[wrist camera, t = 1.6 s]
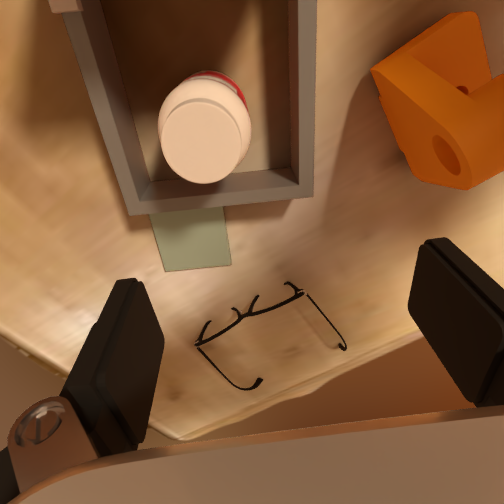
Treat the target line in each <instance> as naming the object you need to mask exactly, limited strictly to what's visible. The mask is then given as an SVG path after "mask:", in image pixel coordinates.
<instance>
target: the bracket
mask: <svg viewBox="0 0 504 504" xmlns="http://www.w3.org/2000/svg"><path fill="white" fill-rule="evenodd" d="M370 71H371V73H372V76H373V78H374V81H375V83H376V86H377V88H378V90H379V93H380V96H378V97H379V100H380V102H381V105H382V107H383V110H384V112H385V114H386V117H387V119H388V122H389V124H390V127H391V129H392V131H393V134H394V136H395V139H396V141H397V144H398V146H399V148H400V150H401V151H403V152H404V154H405V157H406V159H407V162H408V164H409V166H410V169H411V171H412V174H413V175H414V176H416V177H417V178H418V179H420V180H421V181H423V182H428V183H432V184H437V185H442V186H447V187H451V188H456V189H461V190H469V189H471V188H472V187H474V186H476V185H478V184H480V183H482V182H484V181H485V180H487V179H489V178H491V177H493V176H495V175H496V174H498V173H500V172H502V171H504V74H501V75H499V76H497V77H496V78H494V79H492V77H491V73H490V68H489V64H488V59H487V54H486V50H485V45H484V41H483V36H482V32H481V27H480V22H479V18H478V16H477V14H476V13H474V12H472V11H466V12H456V13H450V14H448V15H446V16H445V17H444V18H442V19H441V20H439V21H438V22H436V23H435V24H434V25H432V26H431V27H429V28H428V29H426V30H425V31H423V32H422V33H421V34H419V35H418V36H416V37H415V38H413V39H412V40H411V41H409V42H408V43H406V44H405V45H403V46H402V47H401V48H399V49H398V50H396V51H395V52H393V53H392V54H391V55H389V56H388V57H386V58H385V59H383V60H382V61H381V62H379V63H378V64H376V65H375V66H373V67H372V68H371V69H370Z"/></svg>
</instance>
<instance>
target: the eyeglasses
mask: <svg viewBox="0 0 504 504" xmlns="http://www.w3.org/2000/svg"><path fill="white" fill-rule="evenodd" d="M286 284H288V285H290V286H291V287H292V288H293V289H294V291H295V295H294V296H293V297H291V298H289V299H287V300H285V301H283V302H281V303H279V304H277V305H274V306H272V307H269V308H267V309H264V310H260V311H257V312H252V310H253V308H254V304H255V302H256V301H257V299H258V297H259V295H257V296H256V297H255V298H254V300H253V301H252V303H251V305H250V308H249V310H248V312H247V313H245V314H242V311H241V310H239V311H238V310H237V309H236V308H234V307H233V308H231V309H232V310H235V311H236V312H237V314H238V319H237V320H236V321H235V322H234V323H232V324H231V325H230V326H228V327H227V328H225V329H223V330H222V331H220V332H219V333H217V334H215V335H213V336H211V337H209V338H207V339H205V340H202V338H203V334H204V332H205V330H206V328H207V326H208V324H209V323H210V322H211V320H210V321H208V322H207V323H206V324H205V326H204V328H203V330H202V332H201V334H200V336H199V338H198V339H197V340H196V341H195V343H194V345H195V347H196V348H197V349H198V350H199V351H200V352H201V353H202V355H203V356H204V357H205V358H206V359H207V360H208V361H209V362H210V363H211V364H212V365H213V366H214V367H215V368H216V369H217V370H218V371H219V372H220V373H221V374H222V375H223V377H224V378H225V379H227V380H228V381H229V382H230V383H231V384H232V385H233V386H234V387H236V388H238V389H240V390H252V389H255V388H257V387H258V386H259V385H260V384H261V382H262V381H263V379H261V378H258V379H257V380H256V382H255V383H254V385H253V386H252V387H250V388H240V387H237V386H236V385H234V384H233V383H232V382H231V381H230V380H229V379H228V378H227V377H226V376H225V375H224V374H223V373H222V372H221V371H220V370H219V369H218V368H217V366H216V365H215V364H214V363H213V362H212V361H211V360H210V359H209V358H208V356H207V355H206V354H205V353H204V352H203V351H202V350H201V349H200V348H199V346H200V345H202V344H205V343H207V342H209V341H211V340H213V339H215V338H216V337H218V336H220V335H221V334H223V333H225V332H226V331H228V330H229V329H231V328H232V327H234V326H235V325H237V324H238V323H239V322H240V321H241V320H242V319H243V318H245V317H248V316H255V315H259V314H262V313H265V312H268V311H271V310H273V309H276V308H278V307H281V306H283V305H285V304H287V303H289V302H291V301H293V300H295V299H297V298H299V297H301V296H303V295H304V292H305V295H307V297H308V298H309V299H310V300H311V301H312V303H313V304H314V305H315V306H316V307H317V309H318V310H319V311H320V312H321V314H322V315H323V316H324V317H325V318H326V320H327V321H328V322H329V323H330V325H331V326H332V327H333V328H334V329H335V331H336V332H337V333H338V335H339V336H340V337H341V339H342V340H343V342H344V344H345V347H343V346H342V344H341V343H339V348H340V349H341V350H343V351H345V350H346V349H347V345H346V343H345V341H344V339H343V337H342V336H341V335H340V333H339V332H338V331H337V330H336V328H335V327H334V326H333V324H332V323H331V322H330V321H329V320H328V318H327V317H326V316H325V315H324V313H323V312H322V311H321V310H320V308H319V307H318V306H317V305H316V303H315V302H314V301H313V300H312V298H311V297H310V296H309V295H308V293H307V292H306V291H305V290H303V289H298V288H297V287H296V286H295V285H293V284H292V283H290V282H285V283H284V285H286ZM241 314H242V315H241Z"/></svg>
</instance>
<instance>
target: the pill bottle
mask: <svg viewBox="0 0 504 504" xmlns="http://www.w3.org/2000/svg"><path fill="white" fill-rule="evenodd" d="M158 135H159V139H160V143H161V148H162V151H163V155H164V157H165V159H166V161H167V163H168V164H169V166H170V167H171V168H172V169H173V170H174V171H175V172H176V173H177V174H178V175H179V176H181V177H182V178H184V179H186V180H188V181H191V182H194V183H201V184H206V183H213V182H217V181H219V180H221V179H223V178H225V177H226V176H227V175H229V174H230V173H231V172H232V171H233V169H234V168H235V167H236V166H238V165H239V163H240V162H241V161H242V160H243V158H244V157H245V155H246V153H247V150H248V148H249V145H250V140H251V122H250V116H249V113H248V109H247V105H246V101H245V98H244V95H243V93H242V91H241V89H240V88H239V86H238V85H237V84H236V83H235V82H234V81H233V80H232V79H231V78H230V77H228V76H227V75H225V74H223V73H220V72H217V71H212V70H205V71H200V72H197V73H194V74H192V75H190V76H189V77H187V78H186V79H185V80H184V81H183V82H182V83H181V84H179V85H178V86H177V87H176V88H175V89H173V90H172V91H171V92H170V94H169V95H168V96H167V98H166V99H165V101H164V103H163V105H162V107H161V110H160V113H159V117H158Z"/></svg>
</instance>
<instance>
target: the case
mask: <svg viewBox="0 0 504 504" xmlns="http://www.w3.org/2000/svg"><path fill="white" fill-rule="evenodd" d="M48 2H49V5H50V8H51V11H52V13H58V14H59V13H61V14H62V17H63V20H64V23H65V26H66V29H67V32H68V35H69V38H70V40H71V43H72V46H73V49H74V52H75V55H76V58H77V61H78V64H79V67H80V70H81V73H82V76H83V79H84V82H85V85H86V88H87V91H88V94H89V97H90V100H91V103H92V106H93V109H94V112H95V115H96V118H97V121H98V124H99V127H100V130H101V133H102V136H103V139H104V142H105V145H106V148H107V150H108V153H109V156H110V159H111V162H112V165H113V168H114V171H115V174H116V177H117V180H118V183H119V186H120V189H121V192H122V195H123V198H124V201H125V204H126V207H127V210H128V213H129V216H134V215H143V214H153V213H163V212H172V211H182V210H192V209H201V208H211V207H221V206H231V205H240V204H250V203H260V202H269V201H279V200H289V199H298V198H308V197H313V184H314V134H315V83H316V33H317V0H288V36H289V85H290V134H291V167H290V168H280V169H271V170H261V171H251V172H242V173H232V174H229V175H227V176H226V177H225V178H223V179H221V180H219V181H217V182H213V183H206V184H201V183H194V182H191V181H188V180H186V179H174V180H164V181H155V182H150V179H149V175H148V171H147V168H146V164H145V161H144V157H143V153H142V150H141V146H140V142H139V139H138V135H137V132H136V128H135V124H134V121H133V117H132V114H131V110H130V106H129V103H128V99H127V96H126V92H125V88H124V85H123V81H122V78H121V74H120V70H119V67H118V63H117V60H116V56H115V52H114V49H113V45H112V42H111V38H110V34H109V31H108V27H107V24H106V20H105V16H104V13H103V9H102V5H101V2H100V0H48Z"/></svg>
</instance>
